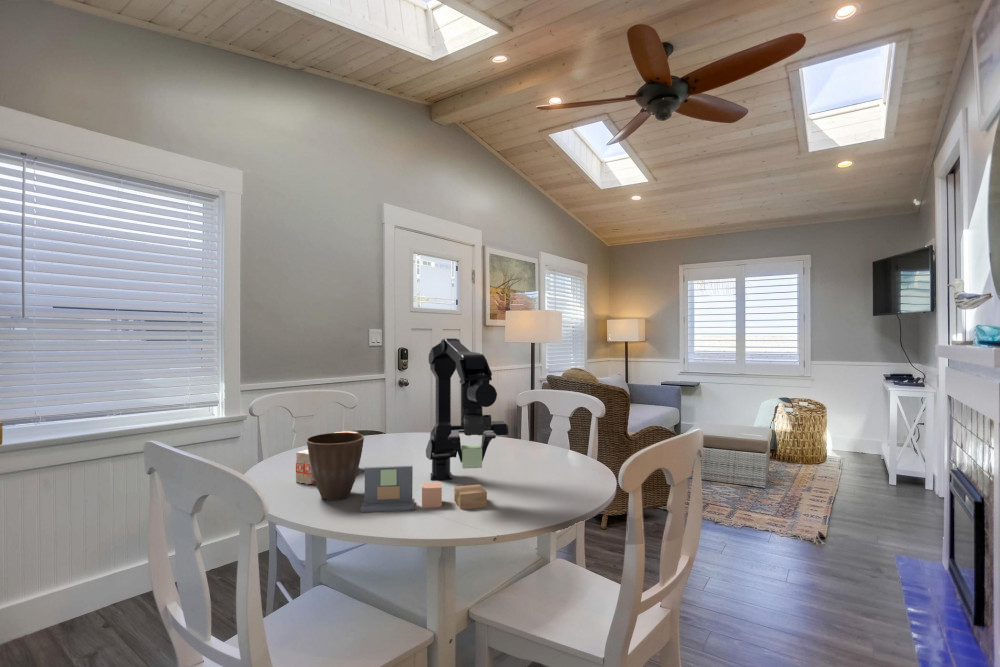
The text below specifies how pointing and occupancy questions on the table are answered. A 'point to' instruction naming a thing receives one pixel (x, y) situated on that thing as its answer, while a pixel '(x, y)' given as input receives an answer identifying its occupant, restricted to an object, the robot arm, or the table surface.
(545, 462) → the table surface
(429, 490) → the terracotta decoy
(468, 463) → the sage block
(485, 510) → the table surface
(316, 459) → the plant pot
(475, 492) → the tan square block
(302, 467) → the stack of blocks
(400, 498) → the card
